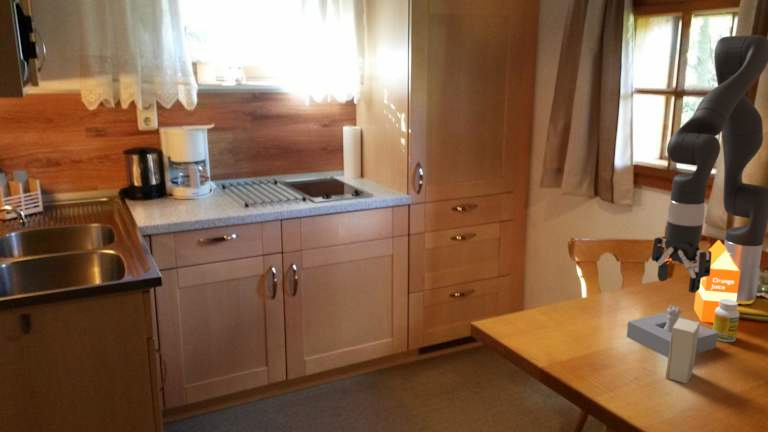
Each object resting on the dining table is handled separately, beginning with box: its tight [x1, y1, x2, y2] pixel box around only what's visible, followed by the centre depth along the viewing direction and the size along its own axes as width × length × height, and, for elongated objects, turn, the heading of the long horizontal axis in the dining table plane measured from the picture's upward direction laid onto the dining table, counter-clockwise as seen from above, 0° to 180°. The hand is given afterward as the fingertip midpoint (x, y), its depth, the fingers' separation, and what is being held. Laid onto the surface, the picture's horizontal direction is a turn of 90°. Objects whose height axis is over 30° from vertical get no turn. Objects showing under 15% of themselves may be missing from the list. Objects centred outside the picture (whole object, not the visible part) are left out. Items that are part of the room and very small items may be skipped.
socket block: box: [626, 311, 718, 358], centre depth 153 cm, size 14×14×4 cm
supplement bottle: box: [711, 299, 740, 343], centre depth 154 cm, size 5×5×10 cm
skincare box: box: [665, 317, 701, 385], centre depth 136 cm, size 6×4×12 cm
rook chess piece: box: [664, 305, 682, 333], centre depth 152 cm, size 4×4×8 cm
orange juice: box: [693, 239, 740, 323], centre depth 166 cm, size 8×9×20 cm
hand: (677, 286), depth 150 cm, fingers open, 8 cm apart
